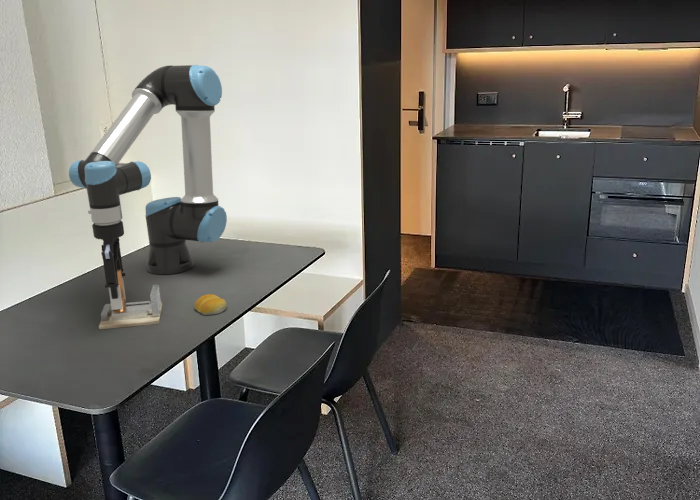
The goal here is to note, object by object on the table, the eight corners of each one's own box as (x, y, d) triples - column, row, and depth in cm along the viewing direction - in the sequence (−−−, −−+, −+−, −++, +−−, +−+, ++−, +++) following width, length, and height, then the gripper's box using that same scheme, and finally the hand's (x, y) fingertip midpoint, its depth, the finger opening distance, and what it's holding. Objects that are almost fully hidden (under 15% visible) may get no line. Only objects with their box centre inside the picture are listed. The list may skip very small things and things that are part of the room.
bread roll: (206, 318, 173) (205, 305, 172) (190, 309, 180) (189, 296, 179) (233, 310, 178) (232, 297, 177) (216, 301, 185) (215, 288, 184)
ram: (116, 308, 178) (110, 267, 174) (161, 304, 180) (156, 263, 176) (111, 320, 170) (105, 276, 167) (158, 315, 173) (153, 272, 169)
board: (107, 309, 180) (107, 306, 180) (162, 304, 183) (162, 301, 183) (99, 329, 167) (98, 326, 167) (158, 323, 170) (158, 321, 170)
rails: (106, 310, 177) (105, 304, 177) (150, 306, 179) (149, 300, 179) (101, 321, 170) (100, 314, 170) (147, 317, 172) (146, 310, 172)
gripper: (98, 214, 174) (109, 293, 182) (85, 232, 157) (98, 319, 164) (127, 212, 176) (137, 291, 183) (117, 230, 159) (128, 316, 166)
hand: (118, 304), depth 174 cm, fingers open, 5 cm apart
